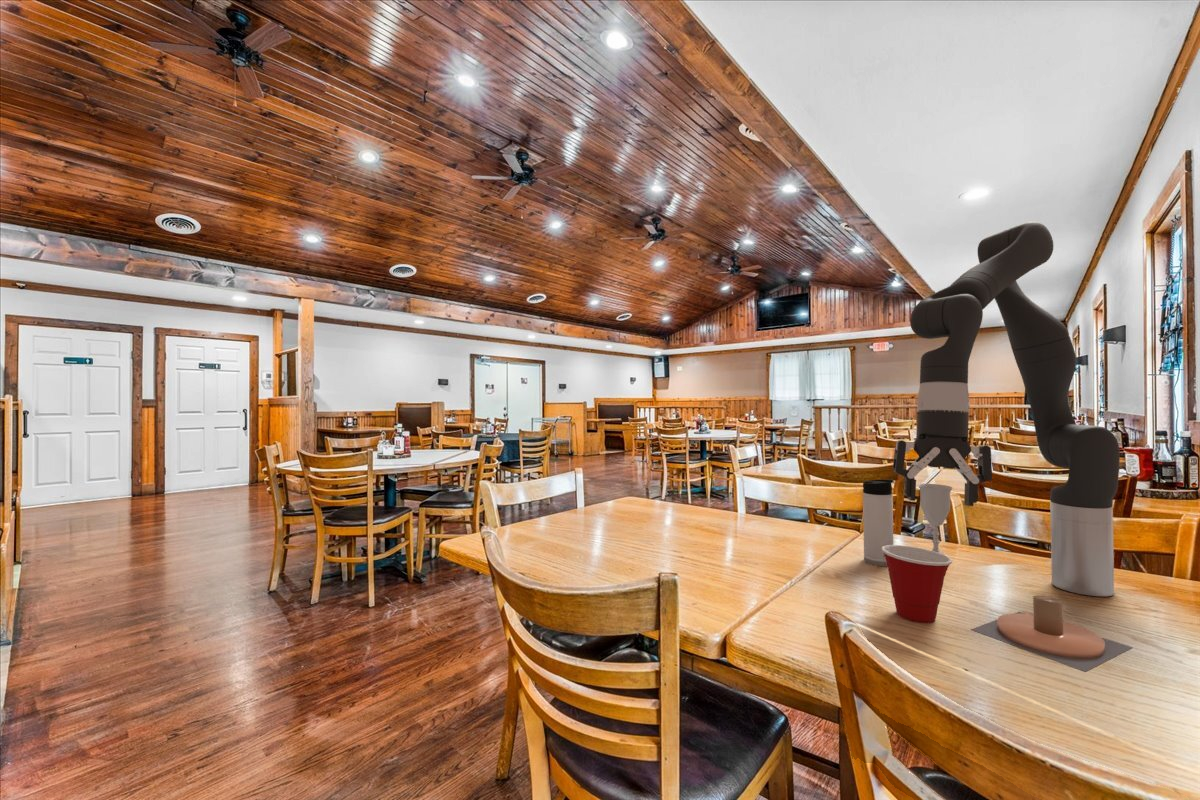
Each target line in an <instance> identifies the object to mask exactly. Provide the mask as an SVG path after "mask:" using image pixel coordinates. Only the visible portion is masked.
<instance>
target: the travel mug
mask: <svg viewBox="0 0 1200 800" xmlns="http://www.w3.org/2000/svg"><path fill="white" fill-rule="evenodd" d="M892 484H895V480H894V479H893V478H890V479H870V480H869V479H868V480H865V481H864V482H863V483H862V514H863V515H862V520H863V521H862V522H863V526H862V527H863V529H862V530H863V561H864V562H865V563H867V564H868V563H869V565H871V564H872V566H875V565H877V566H876V567H887V561H886V558H885V554H884V552H883V551H882V547H883V546H886V545H894V513H893V512H894V508H893V506H894V501H893V499H894V498H893V486H892Z"/></svg>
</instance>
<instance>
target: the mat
mask: <svg viewBox="0 0 1200 800" xmlns="http://www.w3.org/2000/svg"><path fill="white" fill-rule="evenodd" d="M1013 614H1026V613H1025V612H1021V611H1017V612H1015V613H1013ZM970 631H973V632H975V633H978V634H980V635H984V636H987V637H989V638H992V639H994V640H997V641H1000V642H1003V643H1006V644H1009V645H1011V646H1014V647H1016V648H1019V649H1022V650H1024V651H1027V652H1030V653H1033V654H1036V655H1038V656H1041V657H1044V658H1045V659H1049V660H1052V661H1054V662H1057V663H1060V664H1063V665H1065V666H1067V667H1071V668H1073V669H1076V670H1079V671H1082V672H1084V673H1087V672H1089V671H1091V670H1093V669H1094V668H1096V667H1098V666H1100V665H1102V664H1104V663H1106V662H1108V661H1111V660H1112V659H1114V658H1116V657H1118V656H1121V655H1122V654H1124V653H1126V652H1127V651H1129V650H1132V649H1133V648H1134V647H1133V646H1129V645H1126V644H1123V643H1120V642H1117V641H1113V640H1111V639H1107V638H1104V637H1102V636H1100V637H1101V638H1102V639H1103V640H1104V642H1105V653H1104V654H1103V655H1102V656H1100V657H1096V658H1071V657H1064V656H1058V655H1053V654H1049V653H1045V652H1041V651H1037V650H1034V649H1031V648H1028V647H1025V646H1023V645H1020V644H1018V643H1016V642H1014V641H1012V640H1010V639H1008V638H1006V637H1005V636H1003V635H1002V634H1001V633H1000V632H999V631H998V628H997V619H995V620H993V621H990V622H988V623H984V624H981V625H979V626H976V627H973V628H971V629H970Z"/></svg>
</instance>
